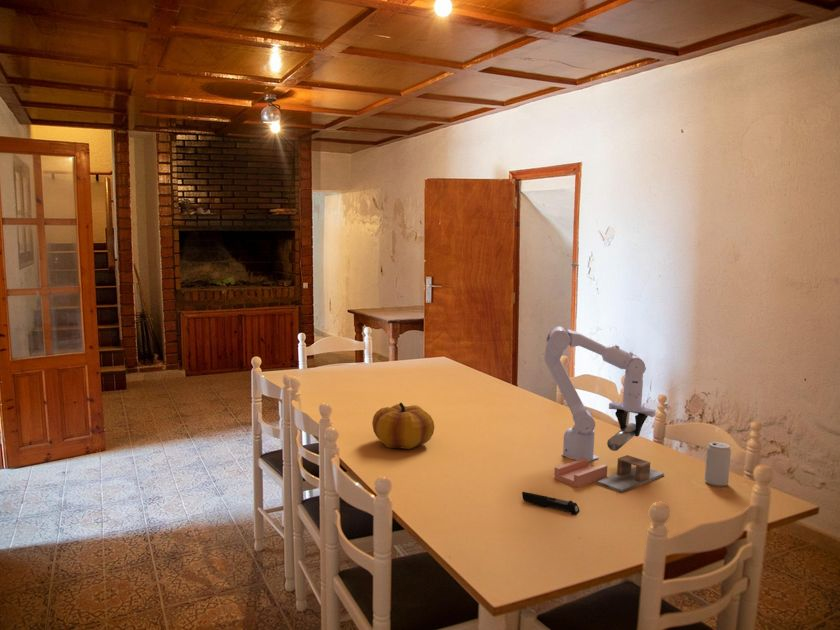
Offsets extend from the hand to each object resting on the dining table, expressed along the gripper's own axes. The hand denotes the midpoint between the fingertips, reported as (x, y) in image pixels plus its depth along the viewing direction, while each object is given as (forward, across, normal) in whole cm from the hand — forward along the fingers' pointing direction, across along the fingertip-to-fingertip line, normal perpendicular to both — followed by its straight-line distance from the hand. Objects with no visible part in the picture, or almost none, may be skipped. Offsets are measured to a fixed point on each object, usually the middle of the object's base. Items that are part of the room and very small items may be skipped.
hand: (630, 434), depth 209 cm
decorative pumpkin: (+10, -66, -35) cm, 76 cm away
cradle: (+9, -5, -24) cm, 27 cm away
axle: (-1, 0, -6) cm, 6 cm away
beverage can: (+9, +27, -2) cm, 29 cm away
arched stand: (+9, +7, -15) cm, 19 cm away
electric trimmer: (+10, -3, -50) cm, 51 cm away
